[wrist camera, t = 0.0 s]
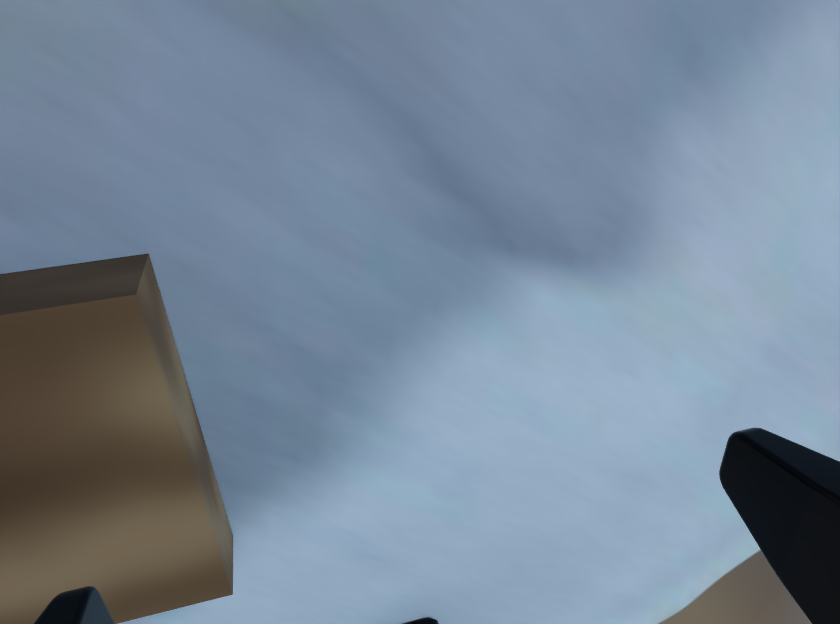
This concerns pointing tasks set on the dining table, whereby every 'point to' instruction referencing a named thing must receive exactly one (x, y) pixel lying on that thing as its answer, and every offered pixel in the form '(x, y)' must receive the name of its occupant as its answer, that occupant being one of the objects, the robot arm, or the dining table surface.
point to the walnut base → (101, 449)
